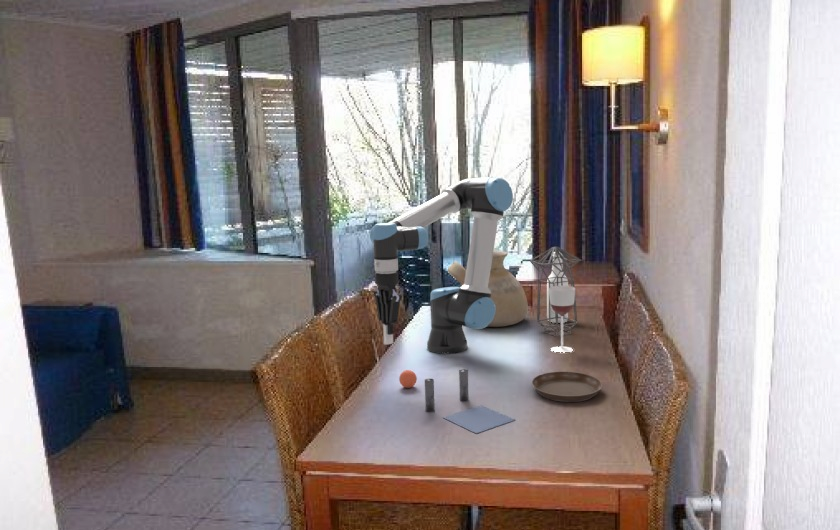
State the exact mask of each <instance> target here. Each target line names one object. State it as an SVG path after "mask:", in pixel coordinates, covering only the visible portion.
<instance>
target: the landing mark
mask: <svg viewBox="0 0 840 530" xmlns="http://www.w3.org/2000/svg"><path fill="white" fill-rule="evenodd" d="M443 419H445V420H446V421H448V422H451V423H452V424H455V425H457V426H458V427H461V428H463V429H466V430H467V431H469V432H471V433H473V434H475V435H477V434H479V433H483V432H485V431H489V430H492V429H494V428H496V427H497V428H498V427H500V426H503V425H505V424H509V423H511V422H514V421H516V419H515V418H513V417H510V416H508V415H506V414H503V413H501V412H499V411H496V410H494V409H491V408H489V407H487V406H484V405H483V404H482V405H481V404H480V405H477V406H475V407H471V408H469V409H465V410H462V411H460V412H455V413H452V414H449V415H446V416H443Z"/></svg>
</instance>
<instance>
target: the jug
mask: <svg viewBox="0 0 840 530" xmlns="http://www.w3.org/2000/svg"><path fill="white" fill-rule="evenodd" d="M507 256H508V252H506V251H503V250H501V251H499V250H494V251H493V257H492V264H491V270H490V277H489V283H488V289H489V290H490V292H491V299H492V300H493V301H494V305H495V307H496V311H495V315H494V318H493V320H492V321H491V323H490V324H488V326H487V327H490V328H492V327H493V328H499V327H500V328H501V327H507V326H513V325H515V324H518V323H520V322H522V321H523V320H525V318H526V316H527V315H528V310H529V304H528V300H527V295H526V293H525V290H524V288H523V286H522V284H521V283H520V281H519V280H518V279H517V278H516V277H515V276H514V274H513V273H512V272H510V271H508V269H506V268H505V264H504V260H505V259H506V257H507ZM447 272H448V273H449V275H451V276H452V277H453V278H454V279H455V280H456V281H457V282H458V283H459V284H460V285H461V286H462V285H463V284H464V281H465V275H466V267H464V266H463V265H462V264H460V263H459V262H458V261H457V260H455V261H453V262H452V263H451V265H450V266H449V267H448V269H447Z"/></svg>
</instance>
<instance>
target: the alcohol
mask: <svg viewBox="0 0 840 530" xmlns="http://www.w3.org/2000/svg"><path fill="white" fill-rule="evenodd" d="M561 255H562V254H561ZM558 256H559V255H558ZM562 256H563V255H562ZM553 257H557V256H556V255H555V251H554V253H553V256H552V258H553ZM559 257H560V256H559ZM559 259H560V262H561V263H563V260H562V259H561V258H559ZM553 260H554V259H552V262H553ZM553 263H559V260H558V258H557V259H556V260H555V262H553ZM563 265H564V264H562V268H563V269H564V267H563ZM555 266H557V267H558V268H559V269H560V270H561V271H562V268H561V266H560V264H555ZM551 269H552V270H553V271H554V272H553V271H552V270H551V273H550V274H549V275H548V276H547V277H548V278H550V279H549V280H550V282H553V281H554V279H555V278H551V277H556V275H558V274H559V275H558V277H562V275H563V273H564V271H563V272H560V271H559V270H558V269H557V268H556V267H554V266H553V265H551ZM559 272H560V273H559ZM554 273H555V274H556V275H555V274H554ZM563 277H566V278H568V277H567V276H566V274H564V276H563ZM566 278H562V281H569V279H566ZM546 280H547V281H546V319H548V318H549V283H547V282H549V281H548V279H546ZM555 282H557V278H556V279H555V281H554V284H555V286H557V283H555ZM558 282H561V278H558ZM562 283H563V286H569V282H562ZM552 286H553V284H550V287H552ZM558 286H561V283H558ZM564 316H565V318H569V312H568V313H567V314H565V315H564ZM553 317H555V311H554V310H553V309H552V307H551V304H550V318H553ZM558 317H561V315H559V314H558ZM550 320H551V322H552V323H551V324H555V323H556V318H555V319H550ZM548 321H549V320H547V322H548ZM565 322H566V323H567V322H568V320H567V319H564V320H563V324H566V323H565ZM558 323H561V318H558Z"/></svg>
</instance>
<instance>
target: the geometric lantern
mask: <svg viewBox="0 0 840 530" xmlns="http://www.w3.org/2000/svg"><path fill="white" fill-rule="evenodd" d="M554 252H555V255H556V256H557V257H553V253H554ZM561 254H562V255H561ZM543 255H544V256H543ZM558 255H559V256H560V257H559V256H558ZM541 256H543V257H542V258H541V259H538V258H539V257H541ZM549 256H550V257H549ZM548 257H549V260H547V259H548ZM557 258H558V260H559V263H553V262H555V260H556V259H557ZM559 258H561V259H562V263H561V262H560V259H559ZM553 259H554V260H553ZM582 261H583V259H581V258H579V257H578V256H575V254H572V253H570V252H568V251H566V250H565V249H562V248H561V247H560V246H552V247H551V248H549V249H547V250H545V251H544V252H542V253H541V254H539V255H537V256H535V257H533V258H532V259H531V260H530V264H532V266H533V267H534V268H535V269H536V270H537V271H538V277H537V300H536V301H537V306H536V307H537V308H536V309H537V311H536V323H537V324H539V325H540V326H541V327H543V330H544V334H547V335H551V336H554V337H561V334H559V332H561V330H558V329H561V323H560V324H558V318H561V317H558V313H556V312H555V317H553V318H550V295H549V318H548V319H547V318H543V319H540V318H541V317H540V315H541V311H540V310H541V290H542V289H541V288H542V287H541V286H542V283H543V282H544V283H546V284H547V283H549V288H550V284H553V286H555V284H554V281H555V279H556V278H557V282H555V283H557V286H558V283H561V286H563V283H562V282H568V283H569V282H570V285H571V286H572V287H575V278H573V273H572V269H573V268H574V266H575V265H577V264H578V263H579V262H582ZM555 264H560V266H561V268H562V264H563V265H565V266H566V268H565V269H564V267H563V268H562V271H561V270H560V269H559V268H558V267H557V266H555ZM571 264H572V265H571ZM536 265H537V266H536ZM552 265H553V266H554V267H556V268H557V269H558V270H559V271H560V272H563V275H562V277H558V275H559V274H558V275H556V274H555V273H554V274H555V275H556V277H551V278H555V279H554V281H553V282H550V280H549V279H550V278H548V277H549V276H548V275H547V273H546V271H545V269H546V268H549V269H551V272H552V271H553V270H552ZM567 271H568V274H569V276H570V277H567V276H566V277H567V278H566V277H563V276H564V275H566V272H567ZM540 272H541V274H540ZM553 272H554V271H553ZM560 272H559V273H560ZM543 274H544V276H545V278H542V277H543ZM558 278H561V282H558ZM562 278H566V279H567V280H568V281H562ZM547 279H548V281H549V282H547V281H546V280H547ZM577 312H578V311H577V301H576V299H575V300H574V305H573V314H574V319H572V318H569V317H568V318H565V316H563V320H564V319H567V321H572V322H571V323H563V330H564V331H563V332H566V331H567V333H563V336H567V335H571V334H572V328H574V327H575V326H576V325H577V324H578V315H577ZM555 318H556V324H552V323H551V320H550V319H555ZM548 320H549V322H548V324H546V323H545V321H548ZM543 321H544V323H543ZM551 324H552V325H551ZM564 327H565V328H564ZM568 330H569V331H568ZM551 331H552V332H554V334H553V333H550V332H551ZM556 332H557V333H556Z"/></svg>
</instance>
